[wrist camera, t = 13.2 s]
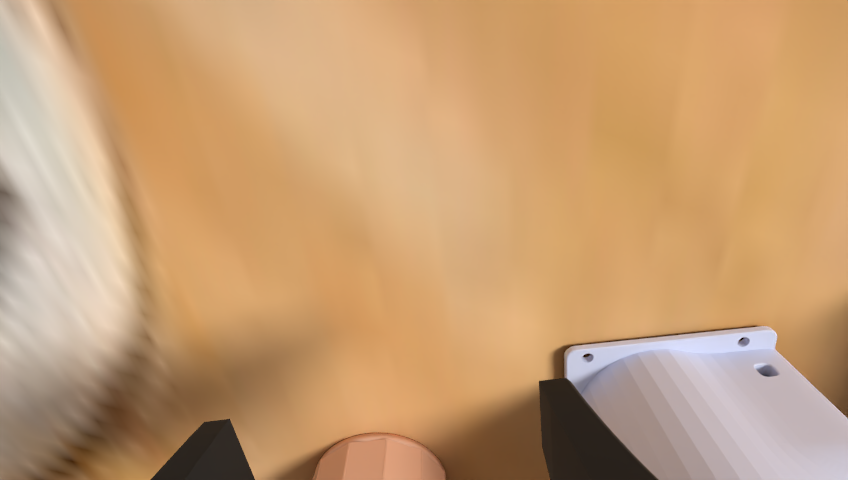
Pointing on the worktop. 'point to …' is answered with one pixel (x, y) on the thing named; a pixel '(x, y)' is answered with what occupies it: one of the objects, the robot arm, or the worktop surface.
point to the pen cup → (379, 460)
